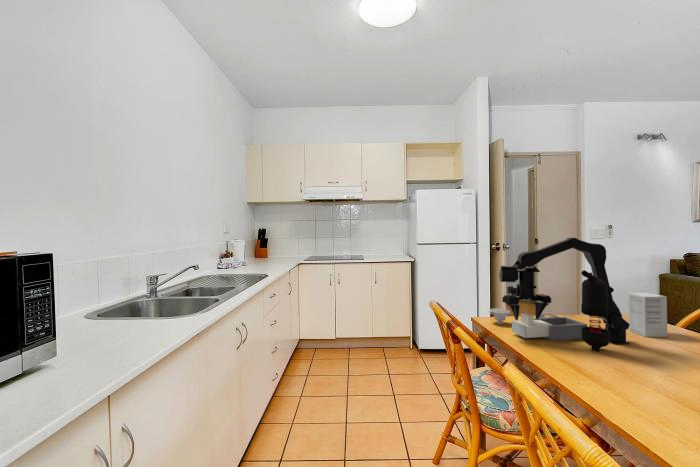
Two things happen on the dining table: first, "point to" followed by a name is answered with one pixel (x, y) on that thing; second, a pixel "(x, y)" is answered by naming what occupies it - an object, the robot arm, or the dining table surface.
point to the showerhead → (499, 314)
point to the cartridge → (530, 327)
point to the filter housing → (562, 328)
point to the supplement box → (647, 314)
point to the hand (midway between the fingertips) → (526, 319)
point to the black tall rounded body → (595, 310)
